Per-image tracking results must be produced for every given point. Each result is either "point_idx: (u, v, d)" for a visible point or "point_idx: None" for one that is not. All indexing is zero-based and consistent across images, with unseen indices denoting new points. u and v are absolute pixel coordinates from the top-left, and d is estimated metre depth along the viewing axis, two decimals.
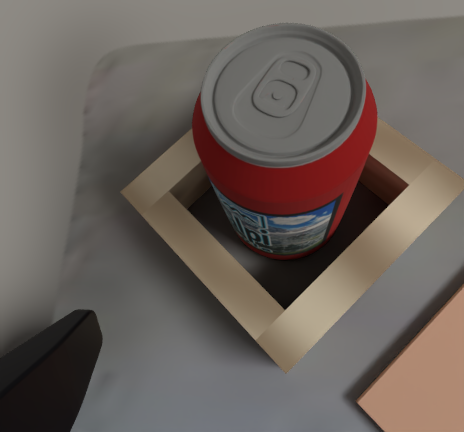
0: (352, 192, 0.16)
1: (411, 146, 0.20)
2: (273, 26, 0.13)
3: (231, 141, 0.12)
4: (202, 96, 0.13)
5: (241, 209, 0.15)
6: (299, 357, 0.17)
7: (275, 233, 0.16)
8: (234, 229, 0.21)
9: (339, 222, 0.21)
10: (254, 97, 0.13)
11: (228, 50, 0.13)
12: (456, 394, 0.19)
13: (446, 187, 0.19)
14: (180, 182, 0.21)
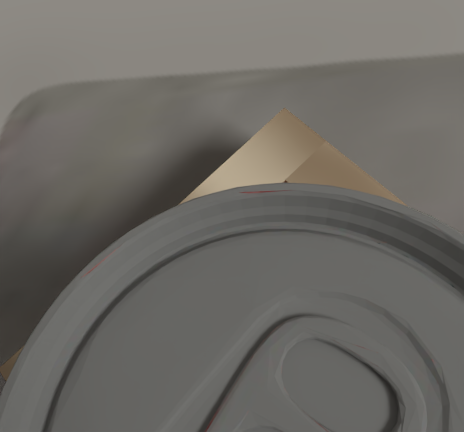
0: None
1: None
2: (257, 193, 0.04)
3: None
4: None
5: None
6: None
7: None
8: None
9: None
10: None
11: (103, 274, 0.04)
12: None
13: None
14: None
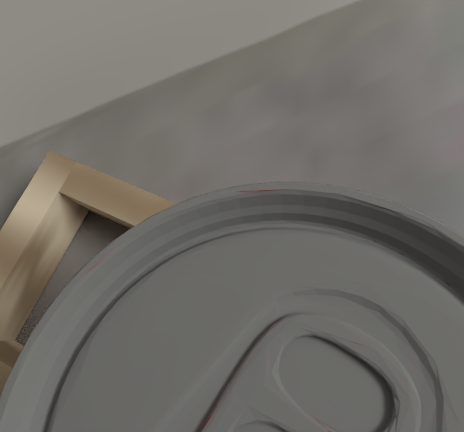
0: None
1: None
2: (254, 193, 0.04)
3: None
4: None
5: None
6: None
7: None
8: None
9: None
10: None
11: (103, 272, 0.04)
12: None
13: None
14: None
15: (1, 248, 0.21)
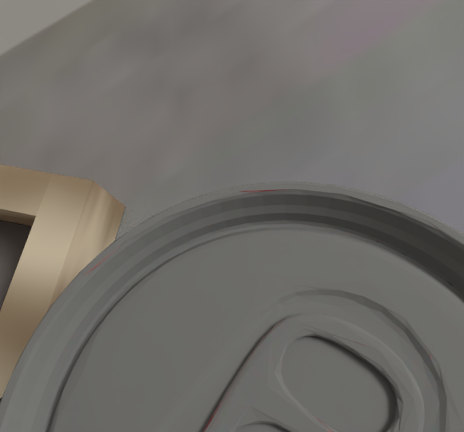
0: None
1: (25, 174, 0.17)
2: (258, 191, 0.04)
3: None
4: None
5: None
6: None
7: None
8: None
9: None
10: None
11: (105, 271, 0.04)
12: None
13: (72, 197, 0.16)
14: None
15: None
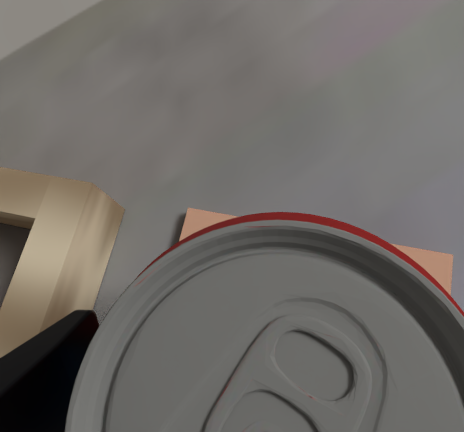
0: None
1: (25, 176, 0.17)
2: (257, 227, 0.05)
3: None
4: None
5: None
6: None
7: None
8: None
9: None
10: None
11: (148, 284, 0.05)
12: None
13: (72, 200, 0.16)
14: None
15: None
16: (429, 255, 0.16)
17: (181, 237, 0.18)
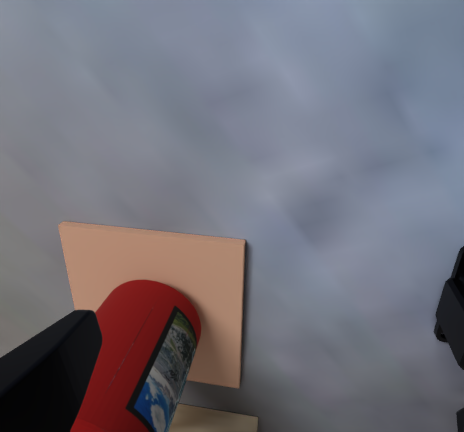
0: (124, 360, 0.18)
1: None
2: None
3: None
4: None
5: None
6: None
7: (175, 400, 0.19)
8: None
9: (155, 295, 0.23)
10: None
11: None
12: None
13: None
14: None
15: None
16: (63, 238, 0.25)
17: None
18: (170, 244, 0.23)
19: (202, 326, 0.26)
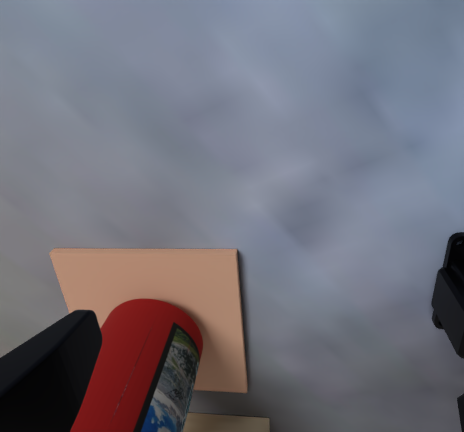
0: (127, 386, 0.18)
1: None
2: None
3: None
4: None
5: None
6: None
7: (181, 418, 0.20)
8: None
9: (153, 314, 0.23)
10: None
11: None
12: None
13: None
14: None
15: None
16: (56, 265, 0.25)
17: None
18: (163, 260, 0.23)
19: (204, 337, 0.26)
